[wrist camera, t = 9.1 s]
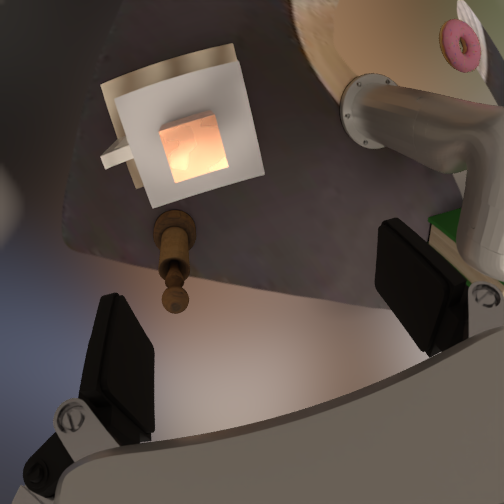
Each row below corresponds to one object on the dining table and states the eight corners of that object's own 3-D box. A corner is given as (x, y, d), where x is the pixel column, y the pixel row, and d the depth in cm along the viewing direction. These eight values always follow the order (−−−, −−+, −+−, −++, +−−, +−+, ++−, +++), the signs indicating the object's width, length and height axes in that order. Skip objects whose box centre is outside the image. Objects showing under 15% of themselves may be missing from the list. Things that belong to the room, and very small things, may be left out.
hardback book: (424, 246, 61) (494, 315, 41) (428, 217, 57) (507, 283, 37) (472, 229, 63) (537, 284, 43) (477, 203, 58) (548, 256, 39)
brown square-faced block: (213, 78, 34) (239, 77, 18) (228, 138, 38) (263, 185, 23) (148, 98, 33) (119, 113, 18) (166, 157, 38) (157, 218, 22)
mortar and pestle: (149, 213, 44) (137, 288, 30) (191, 206, 45) (200, 278, 30) (159, 251, 48) (155, 333, 33) (198, 244, 49) (210, 324, 34)
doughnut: (438, 9, 33) (453, 8, 30) (473, 35, 36) (488, 37, 33) (430, 56, 39) (446, 58, 35) (466, 80, 42) (481, 83, 38)
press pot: (219, 67, 35) (238, 60, 22) (238, 142, 41) (264, 174, 28) (112, 101, 34) (77, 114, 21) (137, 174, 40) (118, 220, 28)
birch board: (231, 44, 34) (232, 43, 33) (256, 149, 43) (258, 151, 42) (102, 84, 33) (100, 84, 32) (137, 186, 42) (136, 189, 41)
